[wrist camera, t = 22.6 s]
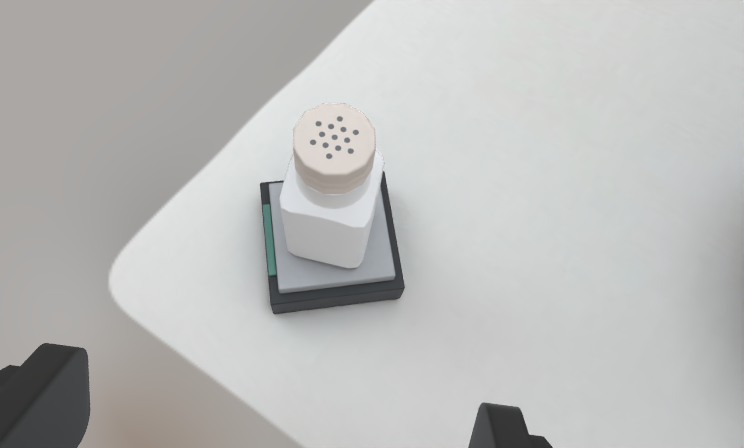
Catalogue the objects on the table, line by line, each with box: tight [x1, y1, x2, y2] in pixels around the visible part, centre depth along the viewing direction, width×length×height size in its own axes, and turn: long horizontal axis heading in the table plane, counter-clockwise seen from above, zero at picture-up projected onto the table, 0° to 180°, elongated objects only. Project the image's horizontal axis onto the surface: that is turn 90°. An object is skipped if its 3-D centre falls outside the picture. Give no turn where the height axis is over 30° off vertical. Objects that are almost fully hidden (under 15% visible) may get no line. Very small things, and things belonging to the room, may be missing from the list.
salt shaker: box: [279, 103, 385, 268], centre depth 27 cm, size 4×4×10 cm
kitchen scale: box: [260, 171, 405, 314], centre depth 33 cm, size 7×7×3 cm
